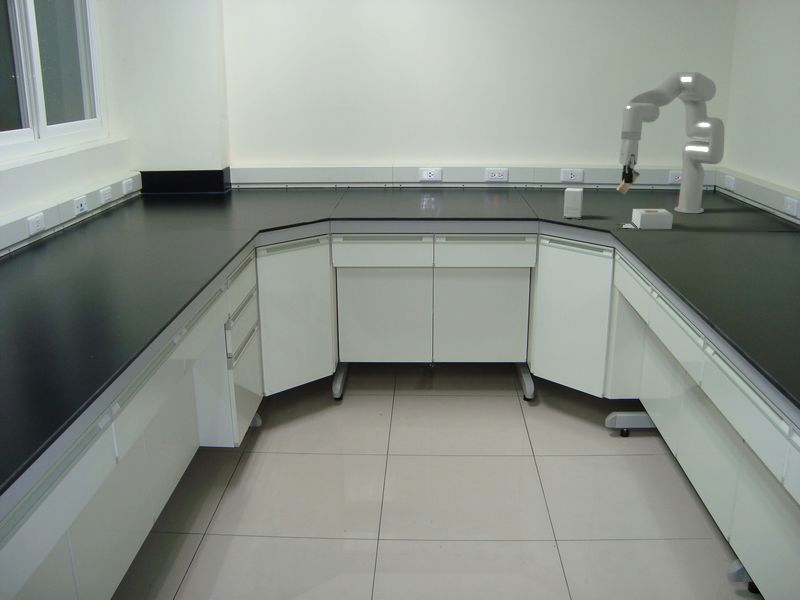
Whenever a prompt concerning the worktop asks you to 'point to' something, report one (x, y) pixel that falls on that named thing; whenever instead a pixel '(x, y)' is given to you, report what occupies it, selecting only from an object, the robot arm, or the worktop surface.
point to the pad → (628, 226)
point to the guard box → (652, 219)
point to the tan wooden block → (627, 184)
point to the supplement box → (573, 202)
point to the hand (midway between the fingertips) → (626, 181)
